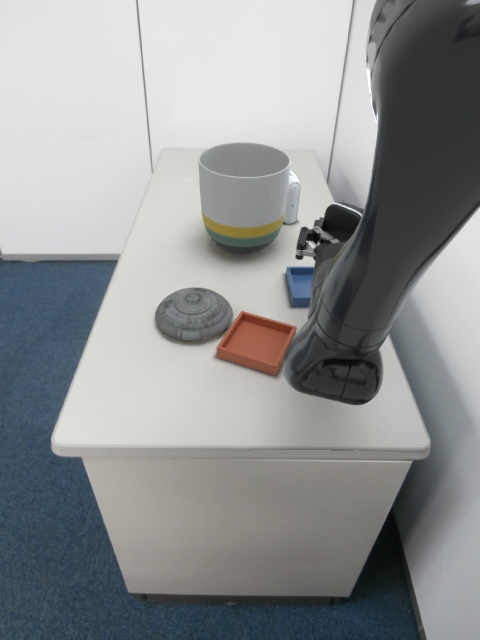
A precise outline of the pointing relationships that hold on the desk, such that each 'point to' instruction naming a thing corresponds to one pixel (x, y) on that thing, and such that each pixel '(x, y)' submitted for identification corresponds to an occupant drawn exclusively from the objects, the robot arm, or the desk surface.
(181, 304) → the flying saucer
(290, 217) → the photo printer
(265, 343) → the terracotta tray
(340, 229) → the battery charger
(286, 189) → the planter
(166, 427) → the desk surface
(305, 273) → the blue tray
